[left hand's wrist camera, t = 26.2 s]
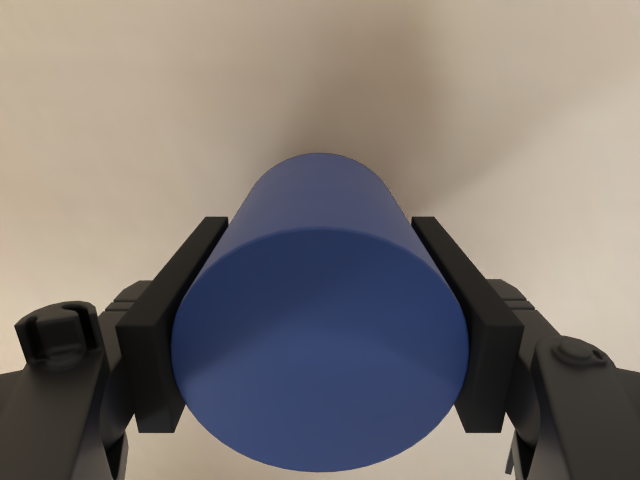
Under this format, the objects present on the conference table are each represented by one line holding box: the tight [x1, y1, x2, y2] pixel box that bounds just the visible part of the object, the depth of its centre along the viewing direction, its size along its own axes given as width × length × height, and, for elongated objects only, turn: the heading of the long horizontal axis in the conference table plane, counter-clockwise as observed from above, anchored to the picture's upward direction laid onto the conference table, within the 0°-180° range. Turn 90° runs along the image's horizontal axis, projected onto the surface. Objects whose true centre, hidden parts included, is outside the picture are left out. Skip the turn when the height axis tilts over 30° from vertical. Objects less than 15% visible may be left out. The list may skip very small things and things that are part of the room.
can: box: [170, 153, 469, 472], centre depth 12 cm, size 6×6×8 cm
